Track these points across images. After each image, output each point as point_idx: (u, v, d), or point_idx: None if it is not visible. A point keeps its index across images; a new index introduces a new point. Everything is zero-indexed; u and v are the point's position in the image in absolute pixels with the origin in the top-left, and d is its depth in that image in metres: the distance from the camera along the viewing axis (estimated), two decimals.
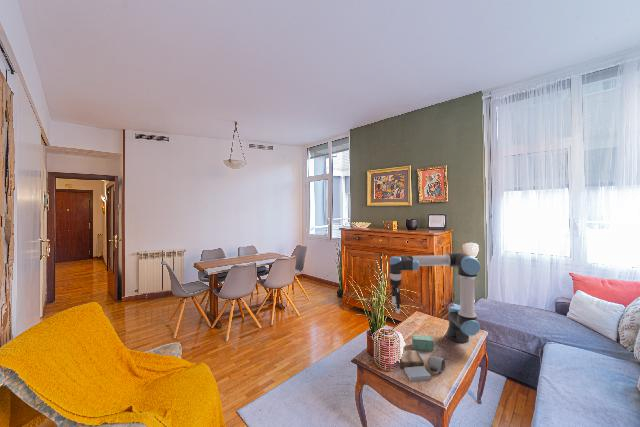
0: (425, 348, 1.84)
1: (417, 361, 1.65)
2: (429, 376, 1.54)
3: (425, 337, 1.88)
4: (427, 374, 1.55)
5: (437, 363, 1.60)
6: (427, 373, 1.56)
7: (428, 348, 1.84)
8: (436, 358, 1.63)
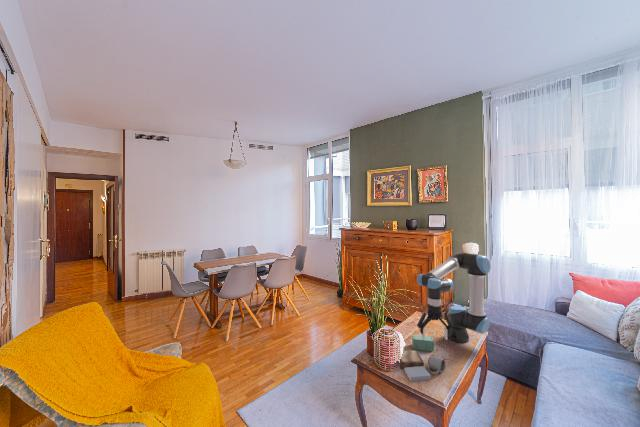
0: (425, 348, 1.84)
1: (417, 361, 1.65)
2: (429, 376, 1.54)
3: (425, 337, 1.88)
4: (427, 374, 1.55)
5: (437, 363, 1.60)
6: (427, 373, 1.56)
7: (428, 348, 1.84)
8: (436, 358, 1.62)
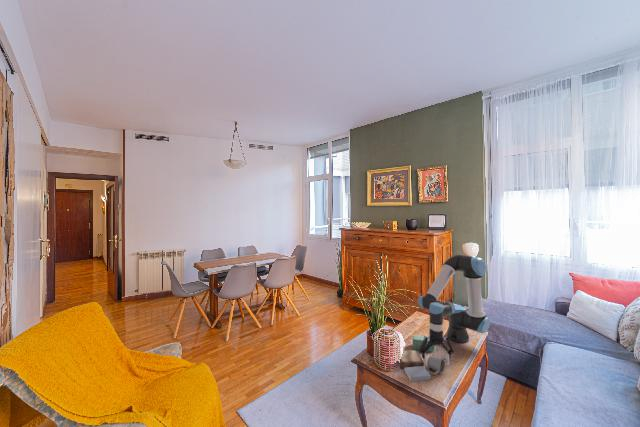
0: None
1: (417, 361, 1.65)
2: (429, 376, 1.54)
3: None
4: (427, 374, 1.55)
5: (436, 364, 1.59)
6: (427, 373, 1.56)
7: (428, 349, 1.83)
8: (435, 359, 1.62)
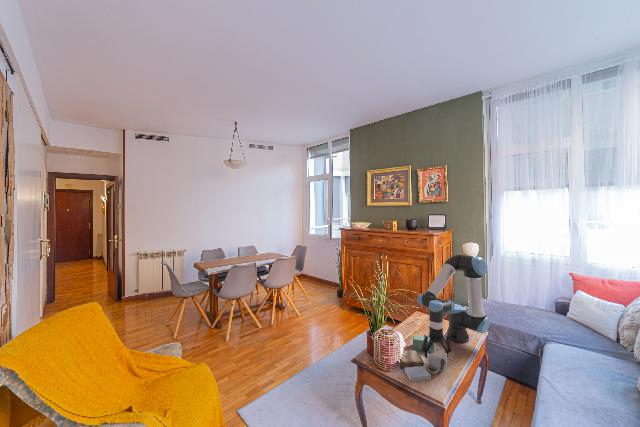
0: None
1: (417, 361, 1.65)
2: (429, 376, 1.54)
3: None
4: (427, 374, 1.55)
5: (436, 363, 1.59)
6: (427, 373, 1.56)
7: None
8: (435, 358, 1.62)
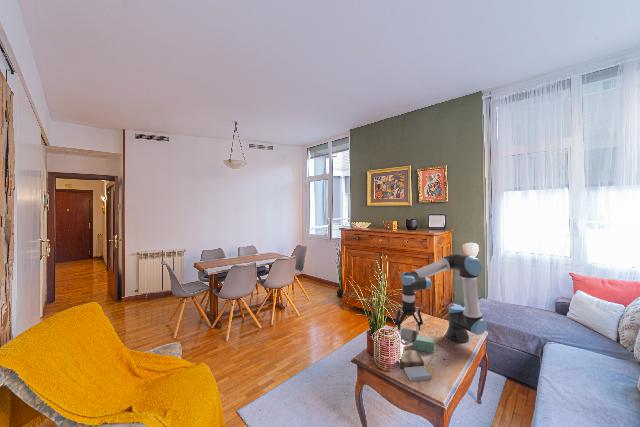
0: (425, 349, 1.83)
1: (417, 361, 1.65)
2: (429, 376, 1.54)
3: (426, 338, 1.86)
4: (427, 374, 1.55)
5: (408, 334, 1.67)
6: (427, 373, 1.56)
7: (428, 350, 1.82)
8: (408, 330, 1.70)
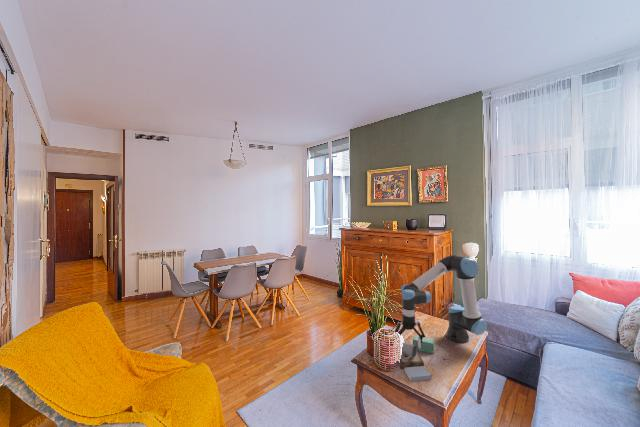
0: (425, 350, 1.82)
1: (417, 361, 1.65)
2: (429, 376, 1.54)
3: (426, 339, 1.85)
4: (427, 374, 1.55)
5: (408, 349, 1.68)
6: (427, 373, 1.56)
7: (428, 350, 1.81)
8: (408, 345, 1.70)
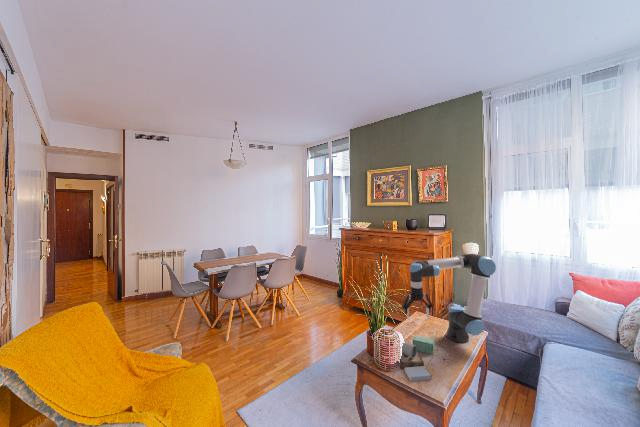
0: (424, 350, 1.82)
1: (417, 361, 1.65)
2: (429, 376, 1.54)
3: (426, 340, 1.85)
4: (427, 374, 1.55)
5: (408, 350, 1.67)
6: (427, 373, 1.56)
7: (427, 351, 1.81)
8: (408, 345, 1.70)
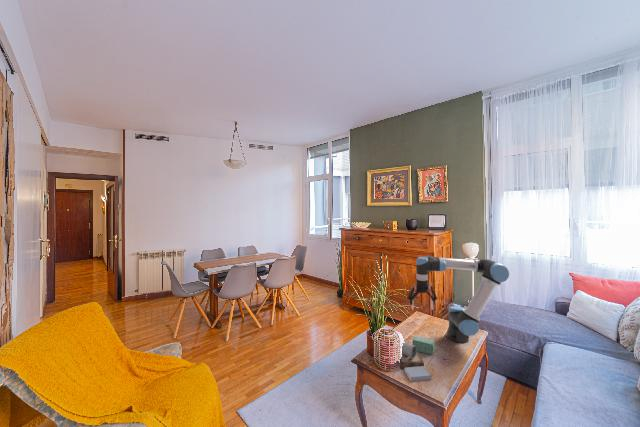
0: (424, 351, 1.81)
1: (417, 361, 1.65)
2: (429, 376, 1.54)
3: (426, 340, 1.84)
4: (427, 374, 1.55)
5: (408, 350, 1.67)
6: (427, 373, 1.56)
7: (427, 351, 1.80)
8: (408, 345, 1.70)
